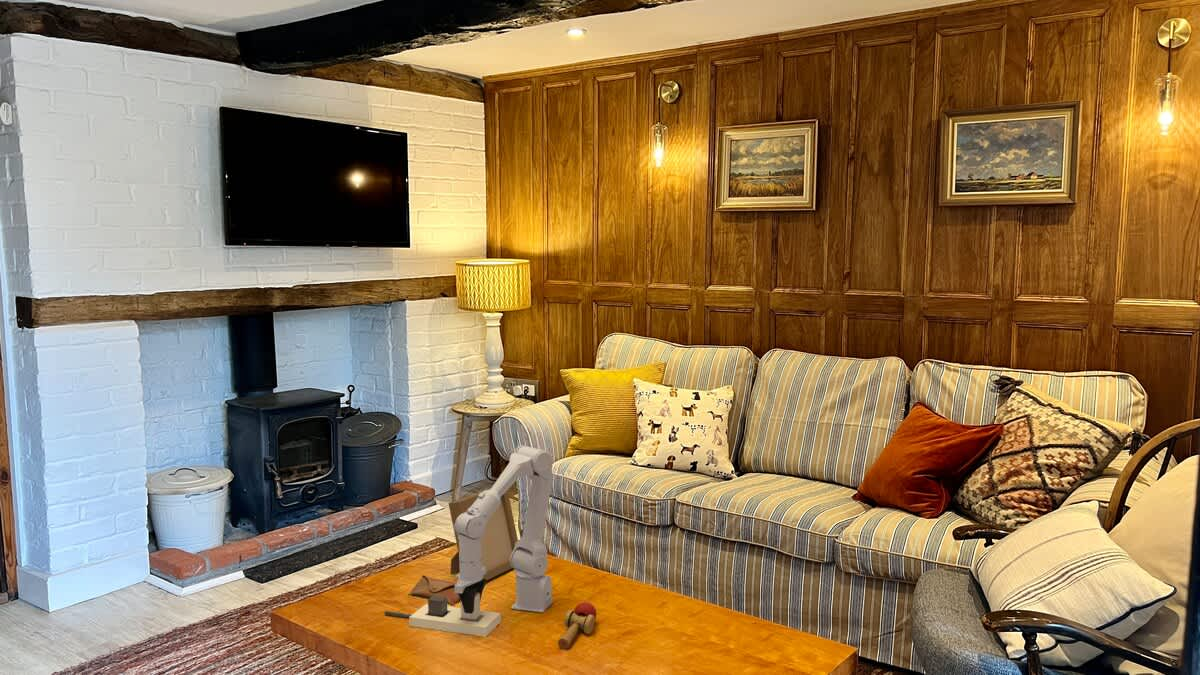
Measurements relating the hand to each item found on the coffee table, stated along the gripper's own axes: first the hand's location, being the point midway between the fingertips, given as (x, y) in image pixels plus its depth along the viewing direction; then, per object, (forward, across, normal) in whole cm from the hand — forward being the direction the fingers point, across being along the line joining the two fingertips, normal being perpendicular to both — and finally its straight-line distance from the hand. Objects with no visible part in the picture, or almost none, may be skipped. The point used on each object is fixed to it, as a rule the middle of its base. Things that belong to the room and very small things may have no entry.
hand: (471, 610), depth 229 cm
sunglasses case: (+5, -16, -19) cm, 25 cm away
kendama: (+5, -4, +28) cm, 28 cm away
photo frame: (+5, -36, -15) cm, 39 cm away
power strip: (+5, 0, -10) cm, 11 cm away
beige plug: (+2, 0, 0) cm, 2 cm away
